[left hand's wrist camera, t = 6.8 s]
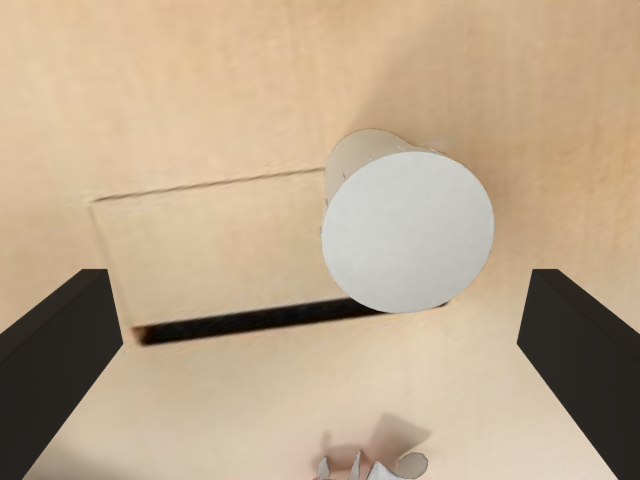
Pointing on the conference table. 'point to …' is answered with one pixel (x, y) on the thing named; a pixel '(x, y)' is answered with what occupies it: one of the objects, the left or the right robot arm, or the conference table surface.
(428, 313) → the conference table surface
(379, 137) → the jar
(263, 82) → the conference table surface
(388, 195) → the lid
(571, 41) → the conference table surface
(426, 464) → the fish
